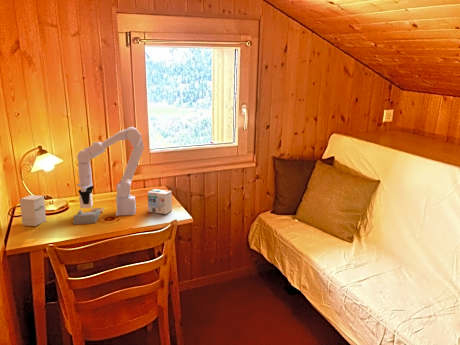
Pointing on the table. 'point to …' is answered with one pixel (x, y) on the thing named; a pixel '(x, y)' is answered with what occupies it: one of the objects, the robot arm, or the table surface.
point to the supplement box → (33, 210)
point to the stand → (96, 209)
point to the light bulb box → (159, 201)
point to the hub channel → (86, 217)
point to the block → (86, 204)
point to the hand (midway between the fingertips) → (87, 202)
